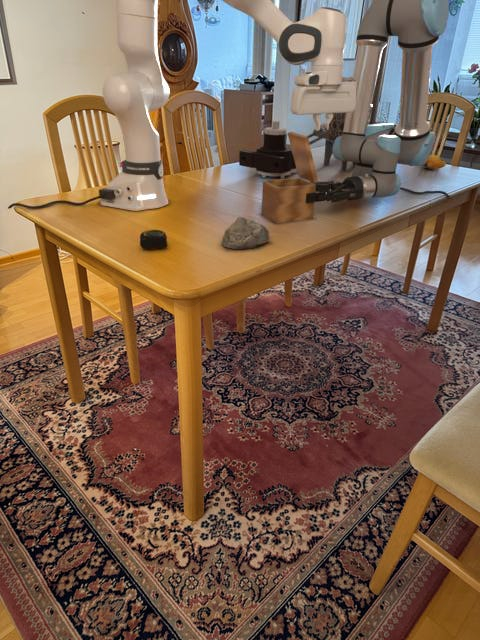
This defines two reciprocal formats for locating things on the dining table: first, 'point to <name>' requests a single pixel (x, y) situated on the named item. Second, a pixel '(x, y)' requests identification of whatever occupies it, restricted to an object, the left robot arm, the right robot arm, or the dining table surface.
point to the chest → (287, 200)
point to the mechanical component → (271, 154)
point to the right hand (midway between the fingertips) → (298, 193)
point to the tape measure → (153, 239)
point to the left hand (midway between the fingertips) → (321, 130)
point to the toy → (434, 162)
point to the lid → (305, 153)
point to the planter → (336, 131)
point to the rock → (245, 234)
